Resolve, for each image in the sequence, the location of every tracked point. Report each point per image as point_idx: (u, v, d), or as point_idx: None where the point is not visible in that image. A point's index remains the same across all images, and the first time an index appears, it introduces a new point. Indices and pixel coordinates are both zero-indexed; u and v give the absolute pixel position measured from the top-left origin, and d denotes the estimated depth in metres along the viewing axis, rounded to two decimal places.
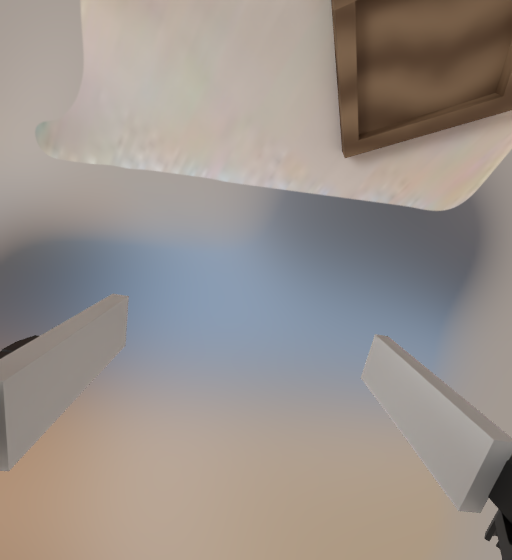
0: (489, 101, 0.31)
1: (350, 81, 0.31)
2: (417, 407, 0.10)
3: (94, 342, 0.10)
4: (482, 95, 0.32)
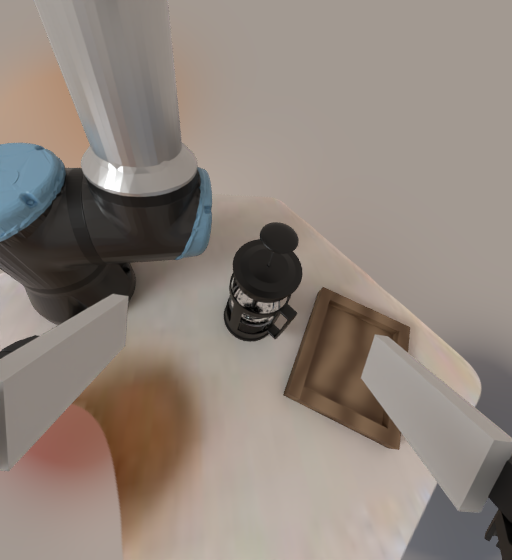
0: (399, 338, 0.45)
1: (342, 411, 0.38)
2: (417, 407, 0.10)
3: (94, 342, 0.10)
4: None
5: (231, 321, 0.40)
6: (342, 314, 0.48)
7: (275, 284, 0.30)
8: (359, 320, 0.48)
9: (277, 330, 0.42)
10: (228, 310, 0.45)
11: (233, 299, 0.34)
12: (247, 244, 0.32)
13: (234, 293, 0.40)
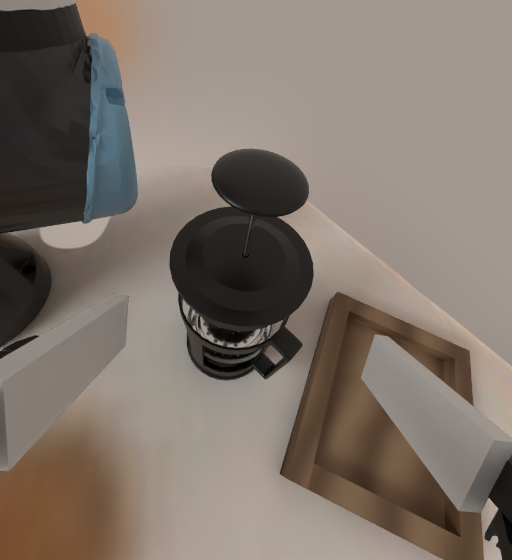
0: (456, 369, 0.30)
1: (381, 508, 0.22)
2: (417, 407, 0.10)
3: (94, 342, 0.10)
4: (442, 371, 0.31)
5: (193, 352, 0.24)
6: (367, 332, 0.32)
7: (258, 294, 0.14)
8: None
9: (269, 364, 0.26)
10: None
11: (184, 320, 0.18)
12: (205, 215, 0.17)
13: None
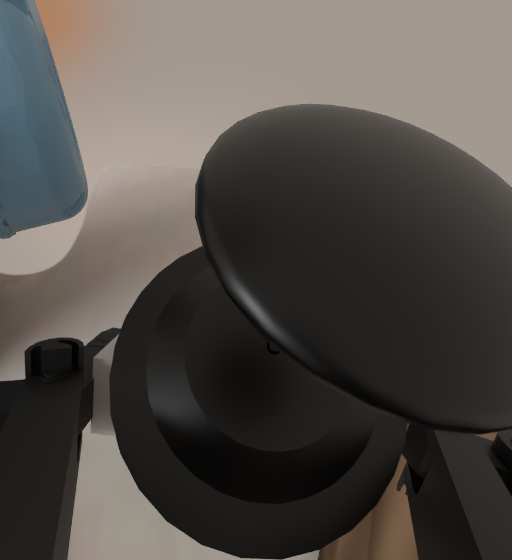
0: None
1: None
2: None
3: None
4: None
5: None
6: None
7: (307, 454, 0.06)
8: None
9: None
10: None
11: None
12: (194, 256, 0.09)
13: None
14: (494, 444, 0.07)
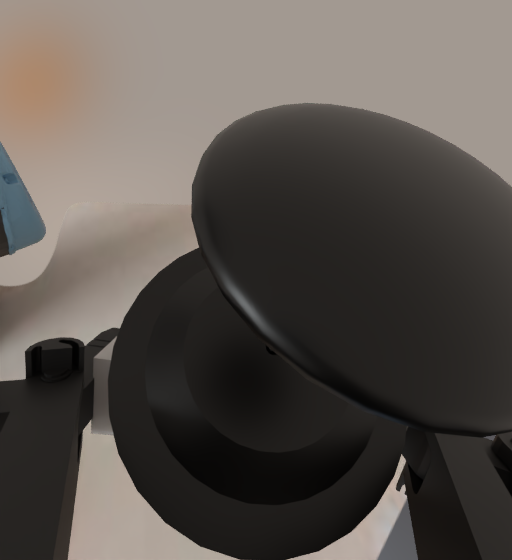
0: None
1: None
2: None
3: None
4: None
5: None
6: None
7: (306, 455, 0.06)
8: None
9: None
10: None
11: None
12: (193, 256, 0.09)
13: None
14: (494, 444, 0.07)
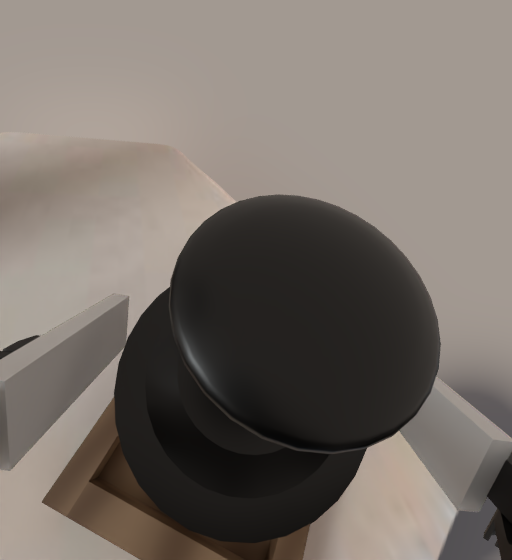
0: None
1: (164, 542, 0.17)
2: None
3: (95, 342, 0.10)
4: None
5: None
6: None
7: (279, 457, 0.07)
8: None
9: None
10: None
11: None
12: None
13: None
14: None
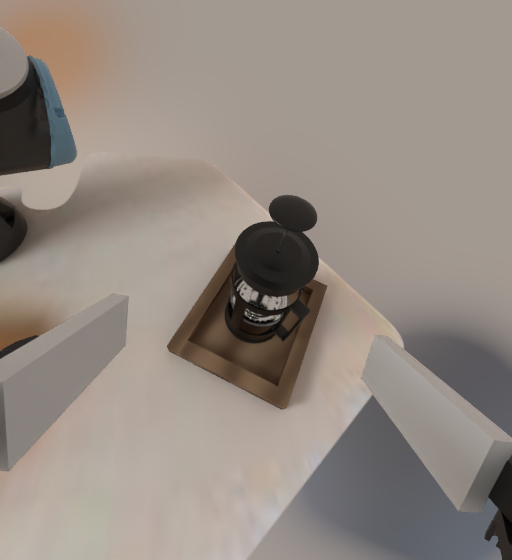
0: (312, 296, 0.42)
1: (227, 367, 0.34)
2: (417, 407, 0.10)
3: (94, 342, 0.10)
4: (306, 300, 0.43)
5: (232, 320, 0.35)
6: None
7: (286, 273, 0.24)
8: None
9: (285, 331, 0.36)
10: (229, 307, 0.39)
11: (235, 293, 0.29)
12: (252, 226, 0.27)
13: (236, 287, 0.35)
14: None
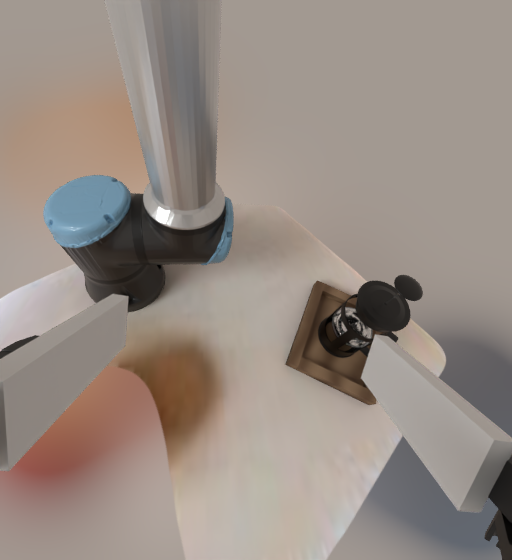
0: None
1: (331, 375, 0.48)
2: (417, 407, 0.10)
3: (94, 342, 0.10)
4: None
5: (333, 342, 0.49)
6: (333, 303, 0.59)
7: (394, 319, 0.39)
8: None
9: (368, 349, 0.50)
10: None
11: (348, 327, 0.43)
12: (364, 285, 0.41)
13: (335, 319, 0.49)
14: None
